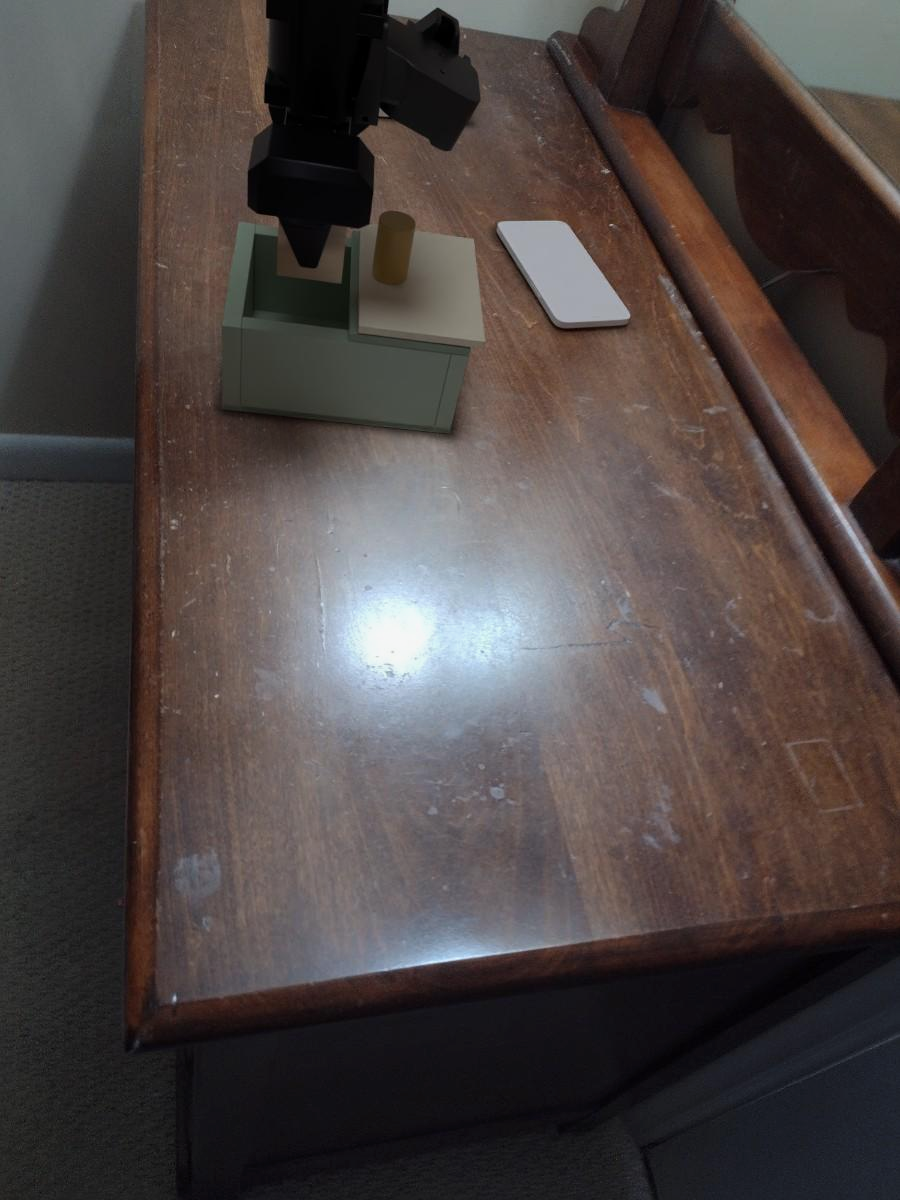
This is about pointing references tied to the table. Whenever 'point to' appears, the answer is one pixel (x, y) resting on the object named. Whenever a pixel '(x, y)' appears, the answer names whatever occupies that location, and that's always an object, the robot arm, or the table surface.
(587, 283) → the smartphone
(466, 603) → the table surface
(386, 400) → the storage box
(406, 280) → the slide door
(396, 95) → the robot arm
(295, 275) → the maple block
